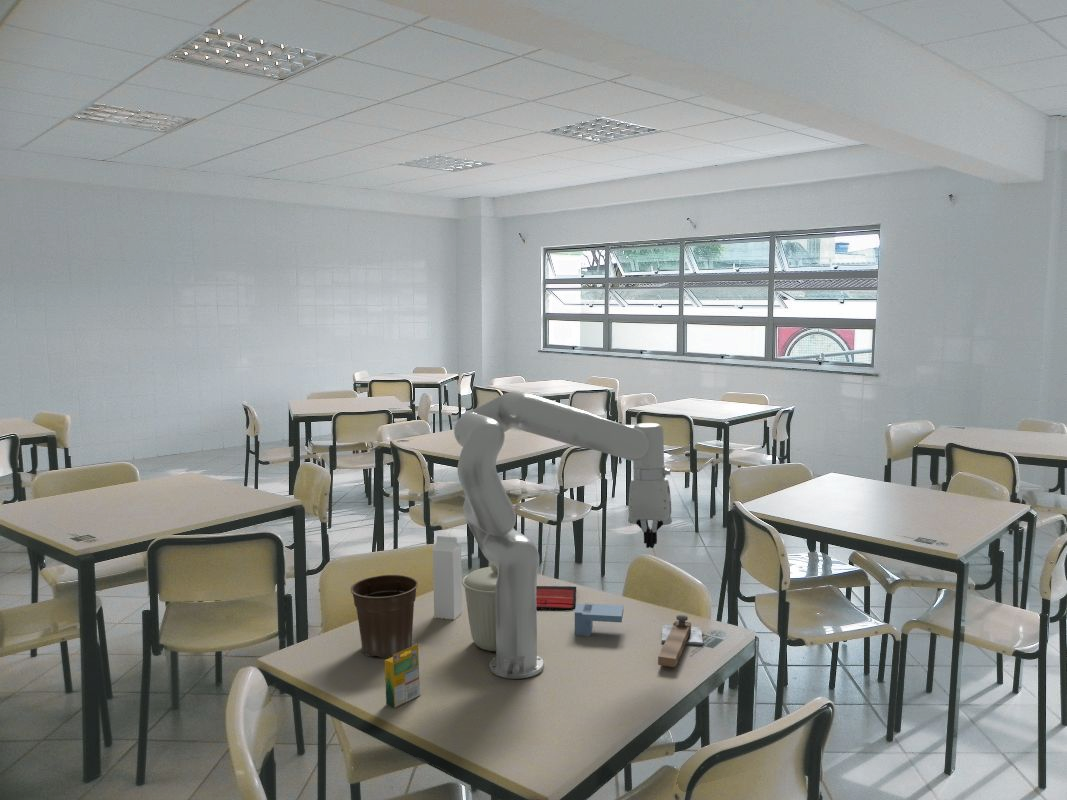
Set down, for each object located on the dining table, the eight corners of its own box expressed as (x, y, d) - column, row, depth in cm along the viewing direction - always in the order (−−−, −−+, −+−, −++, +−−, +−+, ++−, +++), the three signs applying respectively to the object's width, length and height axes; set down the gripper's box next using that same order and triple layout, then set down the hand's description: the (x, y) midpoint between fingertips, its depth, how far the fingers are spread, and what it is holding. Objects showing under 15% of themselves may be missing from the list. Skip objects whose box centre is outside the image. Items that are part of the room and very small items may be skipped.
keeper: (621, 639, 200) (621, 616, 199) (574, 636, 202) (574, 613, 201) (623, 627, 208) (623, 605, 207) (577, 624, 210) (577, 602, 209)
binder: (506, 584, 237) (576, 585, 236) (506, 591, 238) (576, 593, 236) (500, 605, 221) (575, 607, 220) (500, 613, 222) (575, 615, 220)
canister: (451, 654, 192) (449, 569, 190) (478, 626, 210) (477, 548, 207) (522, 662, 187) (521, 575, 185) (544, 633, 204) (543, 553, 202)
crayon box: (411, 691, 173) (409, 640, 172) (420, 695, 171) (419, 643, 170) (385, 704, 167) (383, 651, 166) (394, 708, 166) (393, 654, 164)
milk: (442, 610, 222) (440, 533, 220) (462, 612, 220) (461, 534, 218) (433, 618, 216) (431, 538, 214) (454, 620, 214) (452, 540, 212)
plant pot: (372, 668, 185) (370, 601, 183) (341, 647, 197) (339, 584, 196) (432, 649, 195) (430, 586, 193) (398, 630, 207) (397, 570, 206)
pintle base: (702, 645, 196) (702, 642, 196) (661, 643, 197) (661, 640, 197) (701, 630, 205) (701, 627, 205) (662, 627, 207) (662, 624, 207)
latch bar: (674, 628, 204) (674, 612, 204) (692, 630, 203) (692, 614, 202) (657, 665, 182) (657, 647, 182) (676, 668, 181) (676, 650, 180)
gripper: (681, 471, 196) (683, 543, 198) (621, 469, 200) (623, 540, 202) (677, 477, 188) (678, 552, 191) (615, 476, 193) (617, 549, 195)
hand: (650, 546), depth 196 cm, fingers closed
